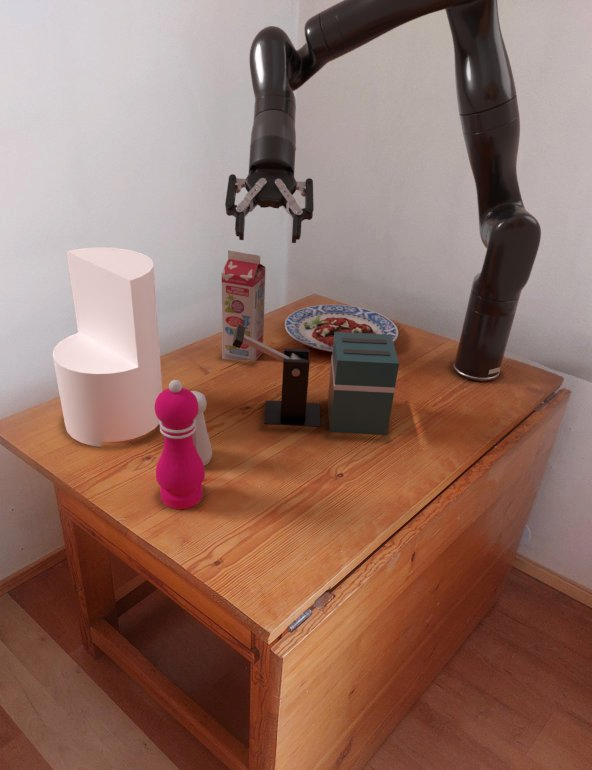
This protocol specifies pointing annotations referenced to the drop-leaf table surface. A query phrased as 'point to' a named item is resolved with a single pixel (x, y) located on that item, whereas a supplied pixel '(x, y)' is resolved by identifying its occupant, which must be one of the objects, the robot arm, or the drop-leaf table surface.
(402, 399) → the drop-leaf table surface
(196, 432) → the salt shaker
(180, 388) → the pepper mill
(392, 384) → the toaster
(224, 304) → the juice carton
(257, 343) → the lever
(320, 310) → the ceramic plate
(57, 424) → the drop-leaf table surface
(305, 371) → the bracket
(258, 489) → the drop-leaf table surface
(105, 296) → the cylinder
